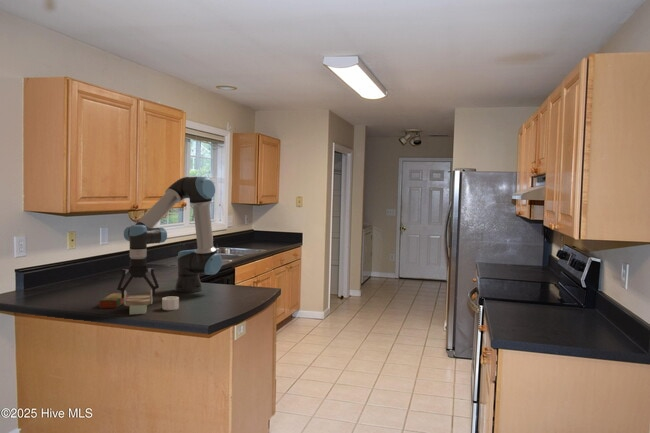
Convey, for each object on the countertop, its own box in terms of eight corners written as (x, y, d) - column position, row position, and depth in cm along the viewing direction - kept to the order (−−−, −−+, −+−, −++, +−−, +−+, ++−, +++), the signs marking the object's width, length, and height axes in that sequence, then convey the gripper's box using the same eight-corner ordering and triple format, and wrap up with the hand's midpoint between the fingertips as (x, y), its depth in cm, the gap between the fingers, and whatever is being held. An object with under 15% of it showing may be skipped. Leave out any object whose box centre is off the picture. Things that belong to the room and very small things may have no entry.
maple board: (128, 299, 239) (128, 295, 239) (150, 298, 242) (150, 294, 242) (126, 306, 225) (126, 302, 225) (149, 304, 228) (149, 300, 228)
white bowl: (162, 307, 241) (162, 296, 241) (178, 306, 243) (178, 296, 243) (162, 310, 234) (162, 300, 233) (179, 309, 236) (179, 299, 236)
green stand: (131, 307, 240) (131, 298, 240) (146, 306, 242) (146, 298, 242) (129, 314, 226) (129, 305, 225) (145, 313, 228) (145, 305, 228)
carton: (128, 301, 254) (128, 293, 254) (116, 308, 238) (116, 299, 238) (111, 301, 254) (111, 292, 253) (98, 308, 238) (98, 299, 237)
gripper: (110, 259, 225) (110, 307, 226) (164, 258, 233) (164, 304, 234) (111, 257, 232) (112, 303, 234) (164, 256, 240) (164, 300, 241)
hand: (138, 304), depth 234 cm, fingers open, 11 cm apart
